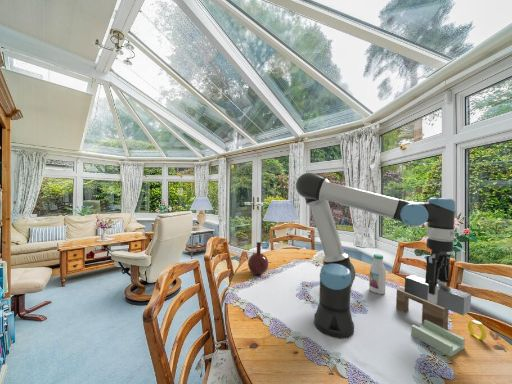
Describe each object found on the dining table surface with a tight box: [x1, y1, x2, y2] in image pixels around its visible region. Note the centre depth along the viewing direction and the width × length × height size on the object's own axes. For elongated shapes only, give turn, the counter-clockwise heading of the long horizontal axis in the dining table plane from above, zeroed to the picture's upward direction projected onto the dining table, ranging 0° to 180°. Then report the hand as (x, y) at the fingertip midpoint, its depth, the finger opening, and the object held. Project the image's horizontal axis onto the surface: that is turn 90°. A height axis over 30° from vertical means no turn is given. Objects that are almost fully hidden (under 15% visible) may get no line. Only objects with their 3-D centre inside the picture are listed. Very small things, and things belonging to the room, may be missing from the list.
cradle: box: [410, 320, 466, 358], centre depth 79 cm, size 12×10×4 cm
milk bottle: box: [368, 253, 387, 295], centre depth 117 cm, size 8×8×20 cm
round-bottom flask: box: [247, 241, 269, 275], centre depth 137 cm, size 13×13×20 cm
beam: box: [395, 287, 449, 330], centre depth 93 cm, size 4×18×9 cm, turn 26°
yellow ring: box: [467, 319, 487, 341], centre depth 82 cm, size 6×3×6 cm, turn 175°
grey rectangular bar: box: [404, 274, 472, 317], centre depth 80 cm, size 18×6×6 cm, turn 29°
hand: (436, 300), depth 80 cm, fingers closed on grey rectangular bar, 6 cm apart
